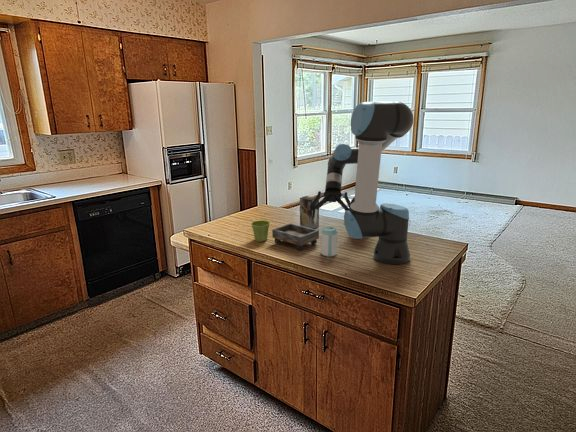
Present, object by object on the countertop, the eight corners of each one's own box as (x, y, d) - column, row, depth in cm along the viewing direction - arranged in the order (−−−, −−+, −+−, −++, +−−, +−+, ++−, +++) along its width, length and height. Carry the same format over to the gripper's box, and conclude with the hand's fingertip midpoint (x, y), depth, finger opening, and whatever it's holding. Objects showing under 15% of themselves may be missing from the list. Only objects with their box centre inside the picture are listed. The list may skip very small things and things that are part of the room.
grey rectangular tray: (318, 244, 179) (318, 230, 177) (301, 252, 170) (301, 237, 168) (290, 236, 191) (290, 223, 189) (272, 243, 181) (272, 229, 179)
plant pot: (267, 243, 181) (267, 226, 179) (249, 242, 183) (248, 225, 181) (272, 237, 190) (272, 220, 188) (254, 236, 192) (253, 220, 189)
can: (320, 251, 170) (320, 226, 167) (336, 251, 170) (336, 226, 167) (321, 257, 164) (321, 231, 160) (337, 257, 163) (338, 231, 160)
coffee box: (319, 226, 205) (319, 198, 201) (312, 229, 201) (312, 200, 196) (306, 223, 211) (306, 195, 207) (299, 226, 207) (299, 197, 202)
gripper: (360, 189, 181) (357, 228, 171) (308, 188, 186) (303, 226, 177) (360, 180, 175) (357, 221, 165) (307, 179, 180) (301, 218, 170)
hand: (329, 223), depth 171 cm, fingers open, 13 cm apart
